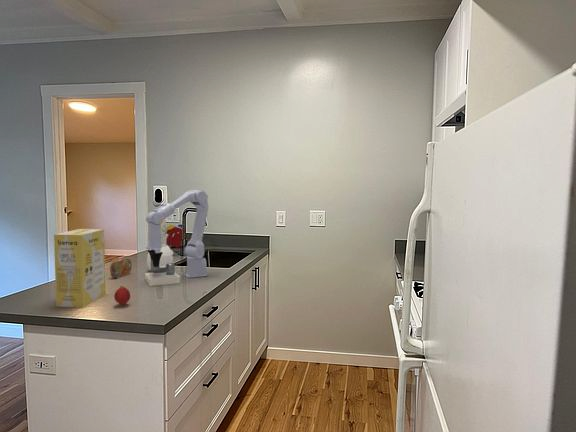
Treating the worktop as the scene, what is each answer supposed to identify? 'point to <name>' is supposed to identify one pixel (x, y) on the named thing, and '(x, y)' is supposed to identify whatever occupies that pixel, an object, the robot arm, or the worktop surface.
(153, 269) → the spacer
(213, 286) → the worktop surface
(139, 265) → the worktop surface
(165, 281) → the kitchen scale
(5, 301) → the worktop surface
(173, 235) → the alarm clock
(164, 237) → the flower in vase
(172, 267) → the cylinder
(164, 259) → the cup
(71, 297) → the pasta box
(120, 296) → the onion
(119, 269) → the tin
